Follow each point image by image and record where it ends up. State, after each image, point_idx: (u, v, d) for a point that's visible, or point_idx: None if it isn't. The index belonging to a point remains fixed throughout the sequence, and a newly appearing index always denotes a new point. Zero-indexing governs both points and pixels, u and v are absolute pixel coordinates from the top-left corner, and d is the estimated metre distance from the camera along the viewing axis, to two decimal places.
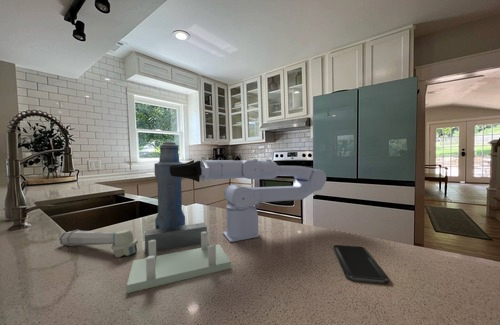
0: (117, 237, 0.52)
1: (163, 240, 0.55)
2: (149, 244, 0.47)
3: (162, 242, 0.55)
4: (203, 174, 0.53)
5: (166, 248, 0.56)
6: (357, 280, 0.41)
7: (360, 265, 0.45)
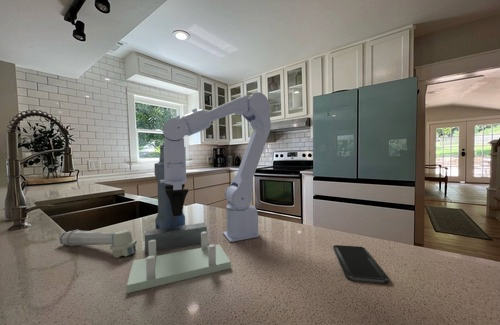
0: (116, 238, 0.52)
1: (163, 239, 0.55)
2: (149, 244, 0.47)
3: (162, 242, 0.55)
4: (180, 188, 0.52)
5: (166, 248, 0.56)
6: (357, 280, 0.41)
7: (360, 265, 0.45)
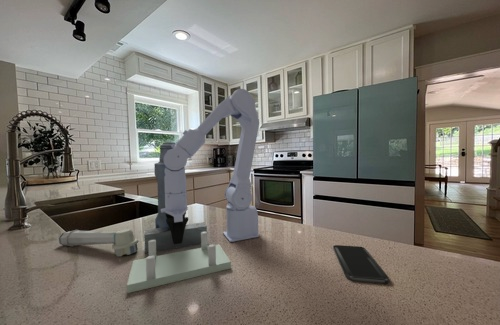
0: (118, 237, 0.53)
1: (163, 239, 0.55)
2: (149, 244, 0.47)
3: (162, 241, 0.55)
4: (181, 220, 0.52)
5: (166, 247, 0.56)
6: (357, 280, 0.41)
7: (360, 265, 0.45)
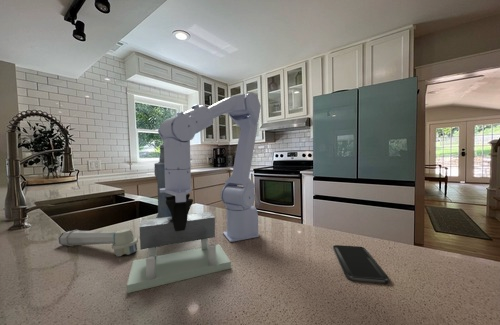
0: (118, 237, 0.53)
1: (163, 232, 0.46)
2: None
3: (161, 235, 0.45)
4: (184, 200, 0.42)
5: (166, 242, 0.46)
6: (357, 280, 0.41)
7: (360, 265, 0.45)
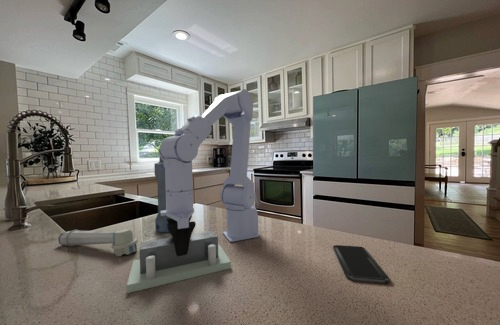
0: (117, 237, 0.53)
1: (164, 254, 0.43)
2: None
3: (162, 257, 0.43)
4: (187, 226, 0.40)
5: (167, 265, 0.44)
6: (357, 280, 0.41)
7: (360, 265, 0.45)
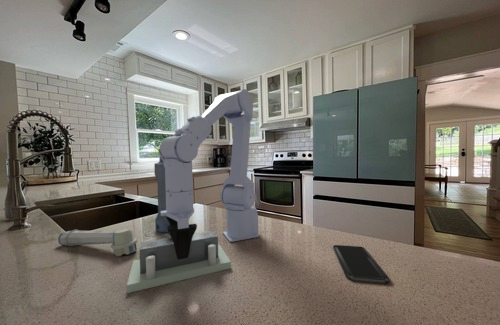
0: (117, 237, 0.53)
1: (164, 254, 0.43)
2: None
3: (162, 257, 0.43)
4: (187, 226, 0.40)
5: (167, 265, 0.44)
6: (357, 280, 0.41)
7: (360, 265, 0.45)
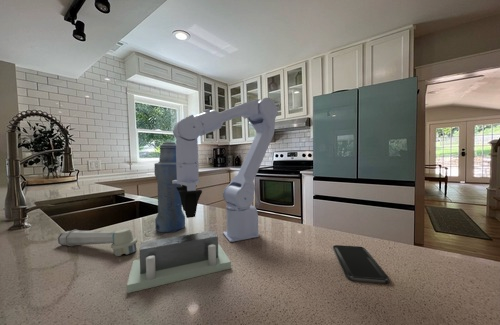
0: (117, 236, 0.53)
1: (164, 254, 0.43)
2: None
3: (162, 257, 0.43)
4: (194, 189, 0.50)
5: (167, 265, 0.44)
6: (358, 280, 0.41)
7: (360, 265, 0.45)
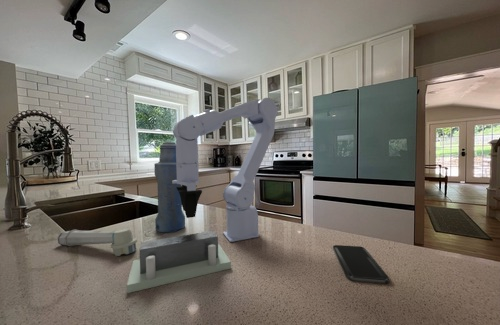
0: (116, 236, 0.53)
1: (164, 254, 0.43)
2: None
3: (162, 257, 0.43)
4: (194, 189, 0.50)
5: (167, 265, 0.44)
6: (358, 280, 0.41)
7: (360, 265, 0.45)
